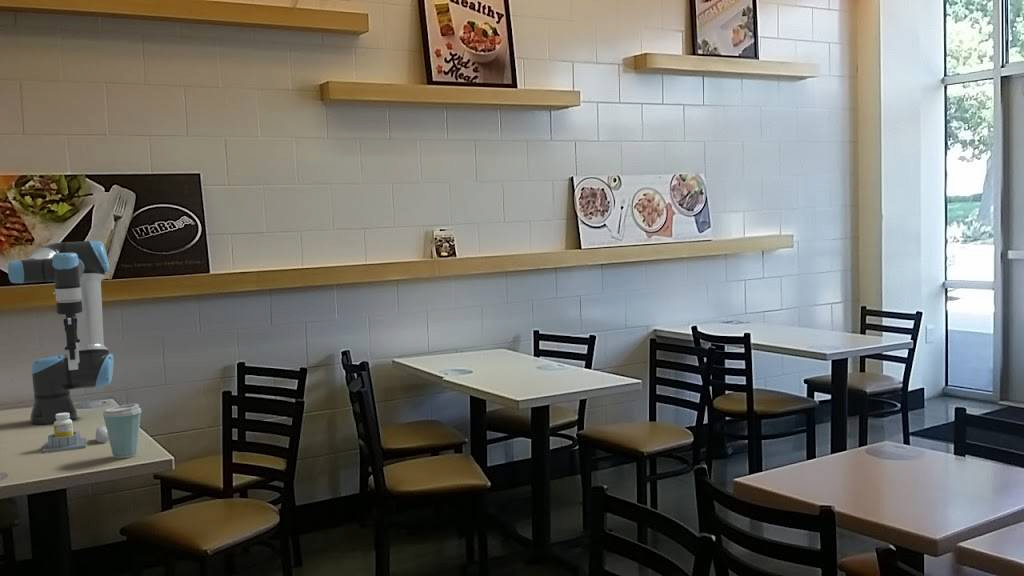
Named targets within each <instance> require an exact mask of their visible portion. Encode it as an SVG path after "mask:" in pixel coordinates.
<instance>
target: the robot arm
mask: <svg viewBox="0 0 1024 576" xmlns="http://www.w3.org/2000/svg"><path fill="white" fill-rule="evenodd" d="M109 271H110V265H109V259H108V255H107V250H106V247H105V245H104V243H103V242H102V241H100V240H85V241H84V240H82V241H65V242H63V241H60V242H55V243H50V244H47V245H44V246H42V247H39V248H37V249H35V250H34V251H33V252H32V253H31V255H30V256H29V257H27V258H26V259H16V260H10V261H9V262H8V265H7V274H8V279H9V281H10V283H13V284H27V283H42V282H43V283H44V282H54V290H55V291H53V293H52V294H53V295H55V301H56V304H55V306H56V314H57V315H65V318H63V326H64V331H65V333H66V334H65V335H66V337H65V338H66V346H64V350H65V351H66V353H57V354H51V355H46V356H42V357H39V358H37V359H35V360H33V361H32V363H31V376H32V387H33V398H34V399H33V400H34V401H33V405H32V409H31V412H30V423H31V424H32V425H49V424H50V425H51V424H52V425H53V424H54V422H55V421H57V419H56V414H58V413H70V418H69V419H71V420H72V421H73V420H75V419H77V418H78V412H77V409H76V407H75V404H74V402H73V399H72V398H71V390H78V389H79V390H81V389H93V388H96V389H97V388H103V387H108V386H109V385H110V384H111V382H112V381H113V380H112V379H113V375H114V364H115V363H114V354H112V353H110V352H109V348H107V346H105V341H104V323H103V322H104V321H103V320H104V319H103V317H104V316H103V301H102V281H103V280H104V279H105V278H106V273H108V272H109Z"/></svg>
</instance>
